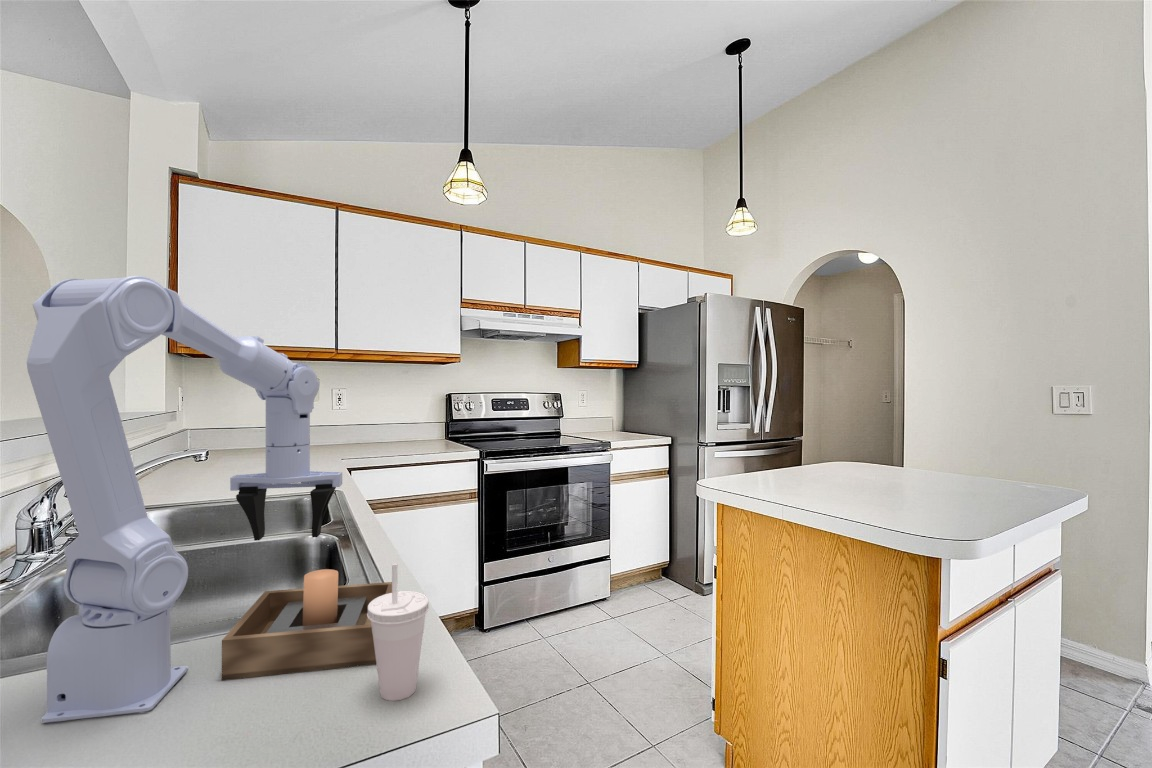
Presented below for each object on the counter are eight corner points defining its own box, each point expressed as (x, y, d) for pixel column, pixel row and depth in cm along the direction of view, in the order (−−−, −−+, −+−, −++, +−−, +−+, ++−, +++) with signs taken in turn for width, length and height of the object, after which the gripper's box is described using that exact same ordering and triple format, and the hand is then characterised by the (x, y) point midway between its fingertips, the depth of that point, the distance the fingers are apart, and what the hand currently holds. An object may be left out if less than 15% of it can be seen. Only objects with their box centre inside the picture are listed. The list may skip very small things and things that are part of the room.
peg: (299, 646, 66) (301, 581, 66) (305, 631, 70) (307, 570, 70) (334, 642, 68) (336, 578, 68) (338, 628, 71) (340, 568, 71)
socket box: (221, 680, 60) (221, 640, 60) (265, 623, 74) (265, 591, 74) (381, 663, 64) (381, 626, 64) (394, 612, 77) (395, 581, 77)
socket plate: (262, 662, 63) (262, 637, 63) (288, 623, 73) (288, 602, 73) (353, 653, 65) (353, 629, 65) (366, 616, 75) (367, 596, 75)
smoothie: (353, 697, 57) (353, 566, 57) (399, 668, 63) (399, 549, 63) (397, 715, 54) (397, 577, 54) (441, 683, 60) (441, 558, 60)
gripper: (346, 440, 84) (346, 526, 84) (243, 442, 81) (243, 531, 81) (336, 446, 77) (336, 540, 77) (223, 448, 74) (224, 546, 74)
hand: (288, 536), depth 79 cm, fingers open, 7 cm apart
